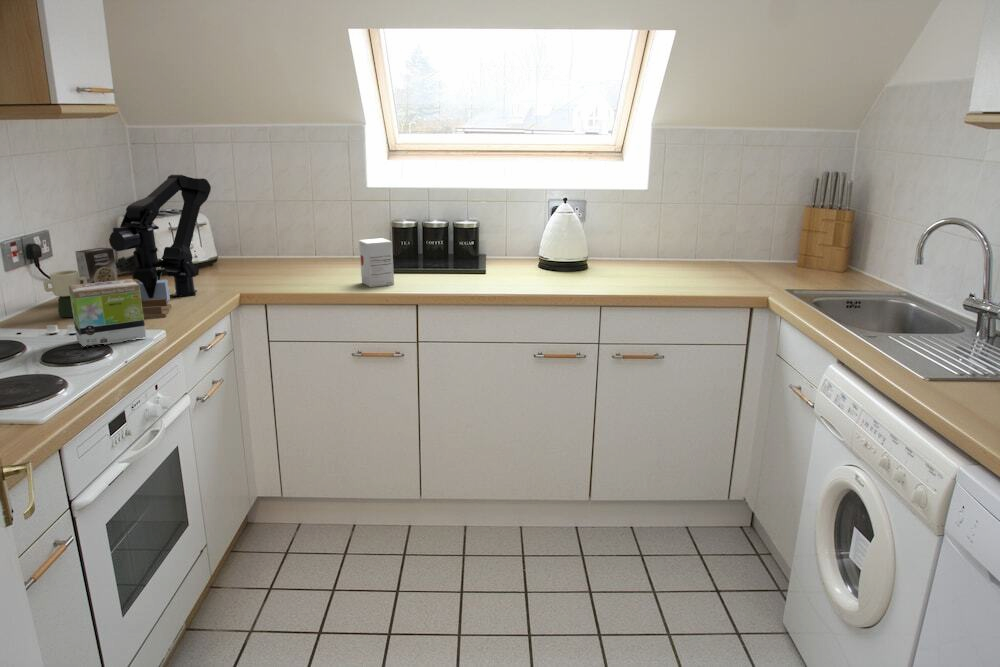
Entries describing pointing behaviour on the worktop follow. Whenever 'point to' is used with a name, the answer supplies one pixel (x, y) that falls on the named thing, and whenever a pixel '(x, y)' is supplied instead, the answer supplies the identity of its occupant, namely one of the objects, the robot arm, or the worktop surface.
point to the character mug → (63, 289)
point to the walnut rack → (155, 308)
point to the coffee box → (96, 265)
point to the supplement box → (376, 262)
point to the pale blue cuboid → (156, 290)
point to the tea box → (107, 312)
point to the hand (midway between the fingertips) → (152, 296)
